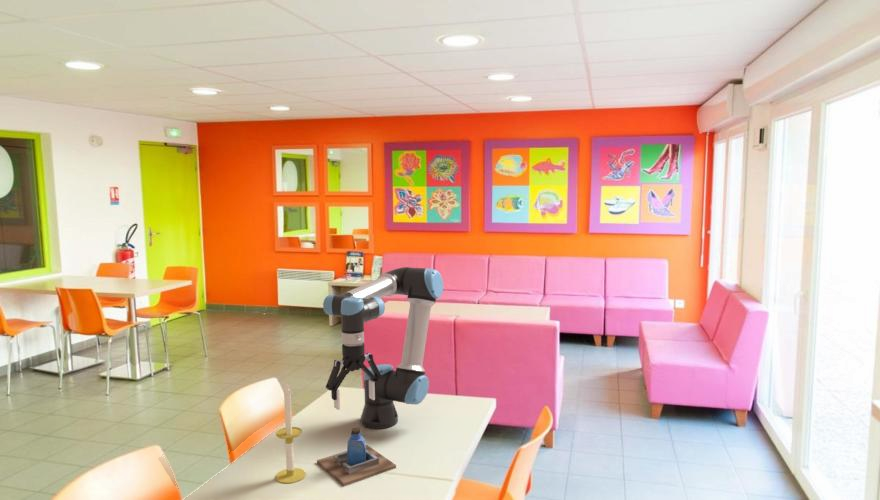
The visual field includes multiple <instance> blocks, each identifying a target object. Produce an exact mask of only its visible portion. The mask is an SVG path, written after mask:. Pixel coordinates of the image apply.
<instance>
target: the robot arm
mask: <svg viewBox="0 0 880 500" xmlns="http://www.w3.org/2000/svg"><path fill="white" fill-rule="evenodd" d="M443 293H444V280H443V277H442V274H441V273H440V272H439V271H438V270H437V269H433V268H427V267H426V268H425V267H424V268H423V267H407V266H403V267H399V268H394V269H391V270H389V271H386V272H383V273H381V274H380V275H379V276H378V277H377V278H376V279H373V280H372V281H369V282H366V283H365V284H362V285H359V286H358V287H355V288H353V289H350V290H348V291H345V292H343V293H341V294H334V293H333V294H328V295H326V296H325V298H324V299H323V303H322V305H323V306H322V308H323V312H324V313H325V314H326V315H328V316H333V317H340V318H341V343H342V345H341V354H342V359H340V360H338V359H334V361H333V367H332V369H331V373H330V375H329V377H328V379H327V383H326V385H325V389H327V390H328V391H331V399H332V400H333V408H334V409H335V410H337V411H338V410H341V403H340V402H341V401H340V399H341V397H340V390H339V387H340V386H341V384H342V383H343V381H344V380H345V378H346V377H347V375H349V373H350V372H354V371H359V370H360V369H361V370H362V372H363V373H364V374H363V375H364V377H363V383H364V386H363V387H364V388H363V389H364V390H363V391H364V405H363V408H362V412H361V415H360V424H361V425H362V426H363V427H365V428H368V429H375V430H379V429H380V430H381V429H387V428H391V427H393V426H396V424H398V421H399V416H398V412H397V409H396V406H395V404H394V402H398V403H403V404H406V405H416V406H417V405H419V404H421V403H422V402H423V401H424V400H425V398H426V396H427V395H428V392H429V387H430V381H429V377H428V376H426V375H425V373H426V370H425V368H424V366H423V363H424V356H425V349H426V343H427V336H428V328H429V323H430V316H431V310H432V309H431V308H432V307H433V306H434V305H435V304H436V300H438V299H439V298H441V297H442V295H443ZM394 295H399V296H400V295H402V296H406V297H407V298H406V299H407V301H408V302H409V310H408V315H407V322H406V329H405V334H404V340H403V341H404V342H403V346H402V347H403V348H402V354H401V361H400V363H399V364H398V365H397V366H396V367H395V368H396V369H395V370H394V366H393V365H392V364H389V363H388V364H386V363H383V364H376V363H375V361H374V355H373V354H372V353H369V352H367V353H366V354H365V351H366V350H365V343H364V342H365V323H367V322H369V321H373V320H377V319H378V318H379V317H381V316H383V314H384V313H385V310H386V306H385V302H384V300H383V299H382V298H383V297H392V296H394ZM365 361H366V362H367V364H368V365H369V366H368V367H367V366H366V365H365V363H364V362H365Z"/></svg>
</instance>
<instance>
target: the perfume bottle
mask: <svg viewBox="0 0 880 500" xmlns="http://www.w3.org/2000/svg"><path fill="white" fill-rule="evenodd" d="M361 429H362V428H361V427H353V428H351V432H350V436H349V439H348V441H347V450H346V451H347V464H348V465H349V466H353V465H356V464H359V463H362V462H365V461H366V445H367V443H366V439H365V438H364V436H363V435H362V430H361Z"/></svg>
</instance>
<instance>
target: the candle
mask: <svg viewBox="0 0 880 500" xmlns="http://www.w3.org/2000/svg"><path fill="white" fill-rule="evenodd" d="M291 390H292V389H291V388H290V387H289V384H288V383H286V385H285V389H284V390H283V397H284V399H283V401H284V421H285V422H284V423H285V425H284V427H283V428H280V429H278V430H276V432H275V436H276V437H277V438H278V439H282V440H283V439H285V462H286V464H285V465H286V467H285V468H284V469H282V470H280V471H278V472H276V474H275V477H274V479H275V481H276V480H277V481H278V483H280V484H285V483H289V484H294V483H298V482H300V481H302V480H304V479H305V477H306V476H307V475H306V474H307V472H306V471H305V470H304V469H302V468H298V467H295V460H294V459H295V455H294V438H297V437H299V436H301V434H302V433H303V429H301V428H300V427H296V426H293V421H292V420H293V419H292V418H293V417H292V395H291ZM277 481H276V482H277Z"/></svg>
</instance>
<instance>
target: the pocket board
mask: <svg viewBox="0 0 880 500" xmlns="http://www.w3.org/2000/svg"><path fill="white" fill-rule="evenodd" d="M316 464H317V465H319V467H321V468H322V469H323V470H324V471H326V473H328V474H329V476H331V477H333V478H334V479H335V480H336V481H337V482H339V483H340V485H342V486H343V487H346V486H349V485H352V484H355V483H357V482H360V481H363V480H365V479H369V478H371V477H374V476H377V475H380V474H383V473H385V472H388V471H391V470H394V469H397V464H396V463H394V462H393V461H391V460H390V459H388V458H386V457H385V456H384V455H382V454H381V453H379V452H378V451H376V449H373V448H372V447H370V445H368V444H366V461H365V462H362V463H359V464H356V465H353V466H349V465H348V464H347V450H345V451H342V452H339V453H336V454H331V455H329V456H326V457H323V458H320V459H316Z"/></svg>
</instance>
